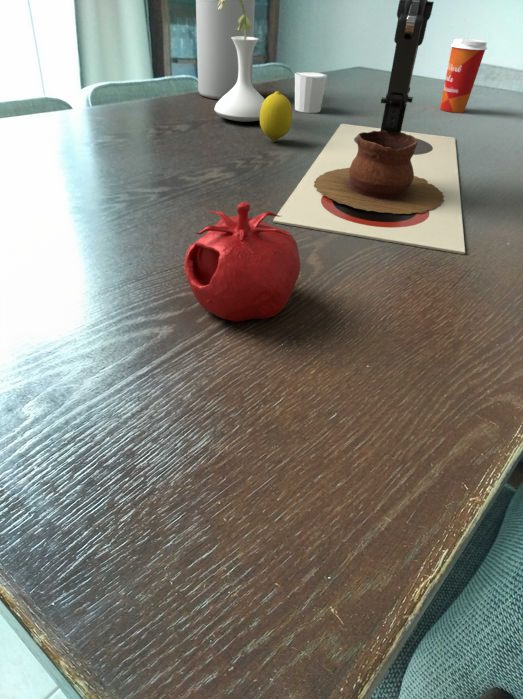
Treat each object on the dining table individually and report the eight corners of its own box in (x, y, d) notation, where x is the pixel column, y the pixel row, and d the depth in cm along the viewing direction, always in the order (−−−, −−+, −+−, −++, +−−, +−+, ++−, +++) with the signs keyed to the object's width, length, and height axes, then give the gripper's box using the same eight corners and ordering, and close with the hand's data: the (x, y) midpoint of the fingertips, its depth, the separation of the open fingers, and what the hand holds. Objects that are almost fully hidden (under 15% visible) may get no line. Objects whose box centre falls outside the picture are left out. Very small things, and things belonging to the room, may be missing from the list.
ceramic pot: (389, 226, 59) (403, 166, 54) (287, 183, 69) (292, 129, 65) (468, 196, 69) (485, 143, 64) (369, 162, 79) (377, 114, 74)
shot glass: (285, 108, 108) (288, 72, 104) (305, 105, 112) (309, 70, 108) (309, 115, 104) (313, 77, 100) (329, 111, 108) (334, 75, 104)
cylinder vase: (233, 103, 109) (235, -40, 94) (187, 95, 114) (182, -43, 99) (261, 95, 118) (267, -37, 103) (217, 87, 123) (217, -40, 107)
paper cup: (432, 105, 119) (448, 37, 111) (463, 107, 119) (482, 39, 111) (439, 112, 113) (458, 41, 104) (473, 114, 113) (494, 43, 104)
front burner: (430, 197, 68) (430, 195, 68) (427, 237, 58) (428, 235, 57) (330, 182, 71) (330, 180, 71) (310, 218, 60) (310, 216, 60)
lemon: (256, 144, 85) (258, 92, 80) (261, 136, 89) (263, 86, 84) (288, 147, 84) (292, 95, 79) (291, 139, 89) (295, 89, 84)
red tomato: (295, 277, 48) (305, 183, 43) (297, 337, 40) (310, 230, 35) (194, 270, 48) (191, 175, 43) (177, 329, 40) (170, 221, 35)
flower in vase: (227, 110, 104) (228, -41, 89) (278, 117, 101) (289, -38, 86) (201, 123, 94) (197, -44, 79) (257, 131, 91) (264, -40, 76)
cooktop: (454, 139, 94) (455, 137, 94) (464, 254, 54) (465, 252, 54) (341, 125, 99) (341, 123, 98) (272, 222, 59) (272, 220, 58)
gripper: (400, -61, 61) (365, 138, 76) (391, -69, 51) (353, 162, 66) (462, -58, 60) (415, 145, 74) (465, -65, 50) (410, 171, 64)
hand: (386, 153), depth 70 cm, fingers closed
